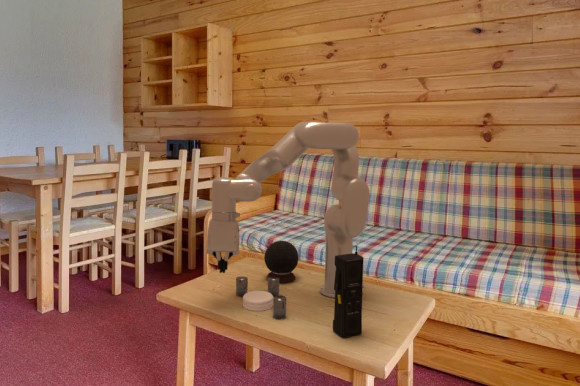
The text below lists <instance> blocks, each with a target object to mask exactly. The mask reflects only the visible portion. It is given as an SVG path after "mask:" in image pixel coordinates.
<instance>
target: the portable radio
mask: <svg viewBox="0 0 580 386" xmlns="http://www.w3.org/2000/svg"><path fill="white" fill-rule="evenodd" d="M335 266H336V271H335V282H334V290H335V298H334V307H333V308H334V309H333V311H334V314H333V319H332V330H333V332H334V333H335V334H336V335H338V336H339V337H340V338H343V339H344V338H348V337H352V336H356V335H361V334H362V332H363V331H362V330H363V326H362V325H363V321H362V320H363V319H362V316H363V288H362V287H363V283H364V280H363V277H364V256H362V255H360V254H359V253H358V246H357V245H355V252H354V253H353V252H352V253H351V254H344V255H337V256H335Z"/></svg>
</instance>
